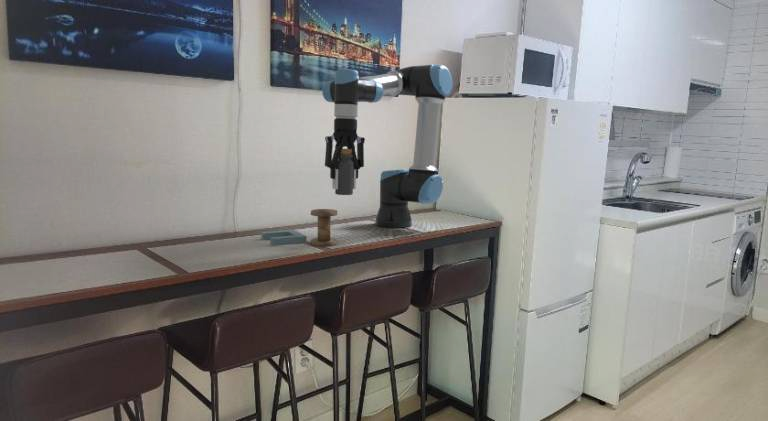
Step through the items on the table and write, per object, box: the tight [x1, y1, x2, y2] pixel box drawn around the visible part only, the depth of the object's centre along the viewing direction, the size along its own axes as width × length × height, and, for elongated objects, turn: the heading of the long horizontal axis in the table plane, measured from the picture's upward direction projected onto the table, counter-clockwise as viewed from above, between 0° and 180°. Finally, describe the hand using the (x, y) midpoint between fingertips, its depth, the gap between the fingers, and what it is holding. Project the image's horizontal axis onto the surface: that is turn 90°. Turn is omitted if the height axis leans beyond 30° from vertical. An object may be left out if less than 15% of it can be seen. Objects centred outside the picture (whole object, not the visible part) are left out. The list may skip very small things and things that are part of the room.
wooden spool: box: [310, 208, 338, 247], centre depth 187 cm, size 9×9×11 cm
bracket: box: [260, 229, 308, 247], centre depth 191 cm, size 12×13×2 cm
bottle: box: [334, 148, 354, 196], centre depth 180 cm, size 6×6×15 cm
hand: (344, 188), depth 181 cm, fingers closed on bottle, 6 cm apart
